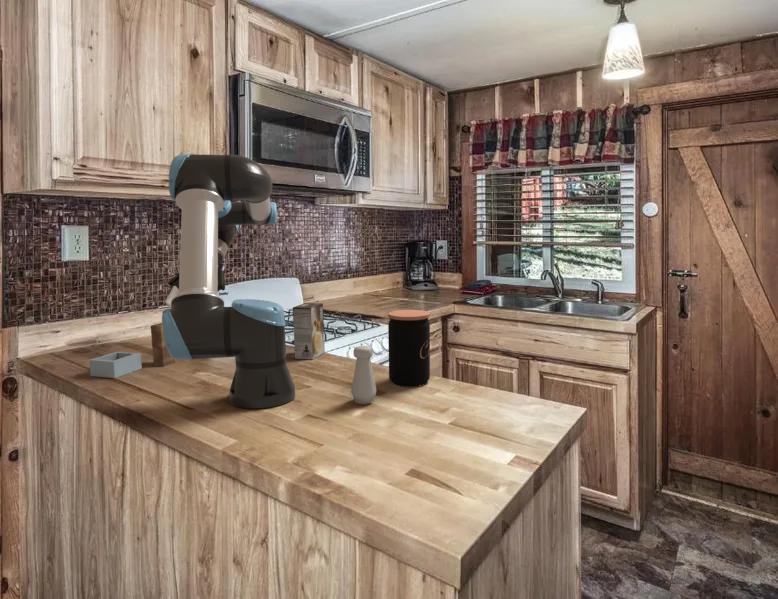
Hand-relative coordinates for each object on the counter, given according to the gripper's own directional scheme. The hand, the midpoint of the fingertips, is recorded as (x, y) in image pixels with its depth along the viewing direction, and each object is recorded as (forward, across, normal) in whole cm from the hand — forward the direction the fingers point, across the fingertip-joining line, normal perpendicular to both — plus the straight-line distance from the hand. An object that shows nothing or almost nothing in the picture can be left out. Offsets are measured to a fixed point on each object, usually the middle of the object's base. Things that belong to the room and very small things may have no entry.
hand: (185, 305), depth 165 cm
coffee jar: (+17, -75, -5) cm, 77 cm away
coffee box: (+5, -38, -18) cm, 42 cm away
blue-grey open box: (+27, +7, +4) cm, 28 cm away
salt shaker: (+30, -69, +8) cm, 76 cm away
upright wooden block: (+19, 0, -3) cm, 19 cm away
